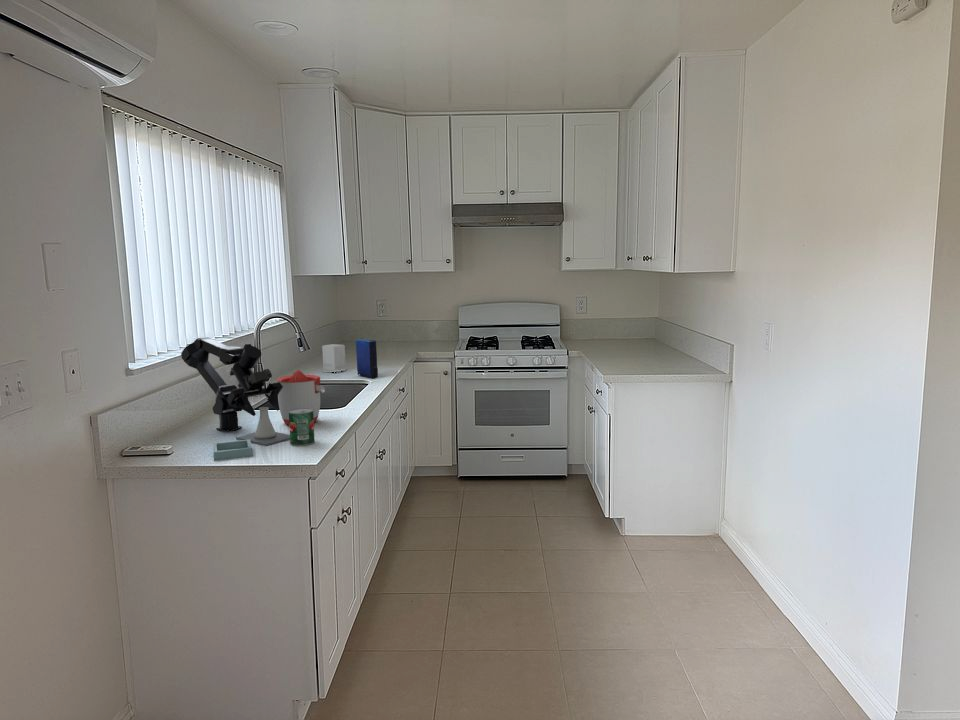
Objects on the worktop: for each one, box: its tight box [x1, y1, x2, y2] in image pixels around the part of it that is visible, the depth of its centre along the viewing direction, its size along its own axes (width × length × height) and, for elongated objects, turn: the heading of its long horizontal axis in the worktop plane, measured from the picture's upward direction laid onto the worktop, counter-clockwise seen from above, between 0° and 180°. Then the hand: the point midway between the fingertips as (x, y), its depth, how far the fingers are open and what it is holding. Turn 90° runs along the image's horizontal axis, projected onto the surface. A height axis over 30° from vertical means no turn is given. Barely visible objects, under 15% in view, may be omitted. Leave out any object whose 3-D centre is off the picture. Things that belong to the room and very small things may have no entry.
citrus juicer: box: [276, 369, 326, 426], centre depth 239 cm, size 16×17×20 cm
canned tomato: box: [288, 408, 316, 447], centre depth 212 cm, size 8×8×11 cm
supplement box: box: [321, 343, 347, 374], centre depth 356 cm, size 9×9×15 cm
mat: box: [235, 431, 290, 447], centre depth 219 cm, size 16×12×1 cm
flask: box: [254, 406, 277, 439], centre depth 218 cm, size 7×7×10 cm
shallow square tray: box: [212, 439, 254, 461], centre depth 201 cm, size 11×11×2 cm
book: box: [355, 338, 379, 379], centre depth 337 cm, size 14×5×20 cm, turn 43°
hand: (266, 412), depth 217 cm, fingers open, 9 cm apart
